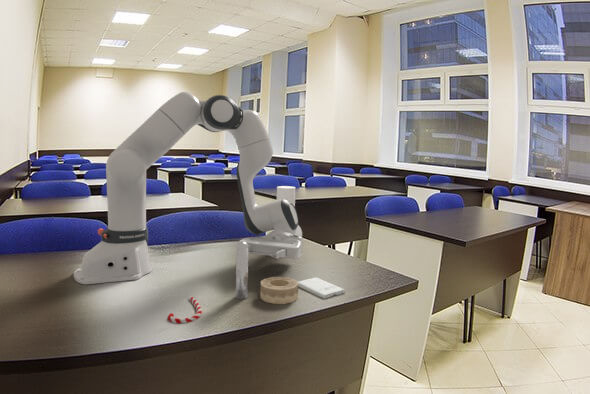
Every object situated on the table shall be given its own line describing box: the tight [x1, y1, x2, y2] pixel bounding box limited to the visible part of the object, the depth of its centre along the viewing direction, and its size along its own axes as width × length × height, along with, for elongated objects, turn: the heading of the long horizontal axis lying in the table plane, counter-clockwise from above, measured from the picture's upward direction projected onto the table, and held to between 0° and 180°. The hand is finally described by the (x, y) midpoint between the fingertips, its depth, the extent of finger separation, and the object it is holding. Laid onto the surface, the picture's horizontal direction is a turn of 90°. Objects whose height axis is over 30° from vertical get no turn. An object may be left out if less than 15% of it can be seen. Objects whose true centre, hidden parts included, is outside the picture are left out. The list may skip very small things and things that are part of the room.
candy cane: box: [167, 296, 203, 324], centre depth 105 cm, size 8×1×15 cm
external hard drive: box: [297, 277, 346, 300], centre depth 123 cm, size 2×8×12 cm
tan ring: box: [260, 276, 299, 305], centre depth 116 cm, size 10×10×4 cm
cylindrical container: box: [276, 185, 296, 207], centre depth 163 cm, size 7×7×25 cm
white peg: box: [235, 241, 249, 300], centre depth 114 cm, size 3×3×16 cm
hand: (260, 253), depth 125 cm, fingers open, 8 cm apart
